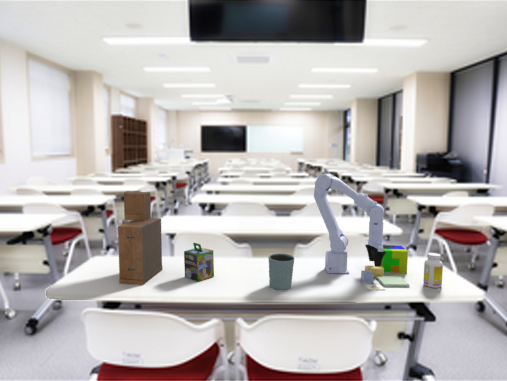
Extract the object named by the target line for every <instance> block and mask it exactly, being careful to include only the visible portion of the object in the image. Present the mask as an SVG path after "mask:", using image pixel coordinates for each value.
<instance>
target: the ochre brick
mask: <svg viewBox="0 0 507 381" xmlns="http://www.w3.org/2000/svg"><path fill="white" fill-rule="evenodd" d="M364 271H372V272H373V274H374V278H376V276H385V273H384V268H383V267H382V266H380V267H375V265H364Z"/></svg>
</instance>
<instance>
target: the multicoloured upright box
mask: <svg viewBox="0 0 507 381" xmlns="http://www.w3.org/2000/svg"><path fill="white" fill-rule="evenodd" d="M192 244H193V247H194V248H191V249H188V250H184V252H183V254H184V255H183V260H184V262H183V265H184V278H186V279H189V280H192V281H194V282H197V283H199V282H202V281H205V280H208V279H210V278H212V277H213V278H214V277H215V263H214V262H215V261H214V250H213V249H209V248H205V247H202V245H201V243H196V242H193V243H192Z"/></svg>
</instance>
